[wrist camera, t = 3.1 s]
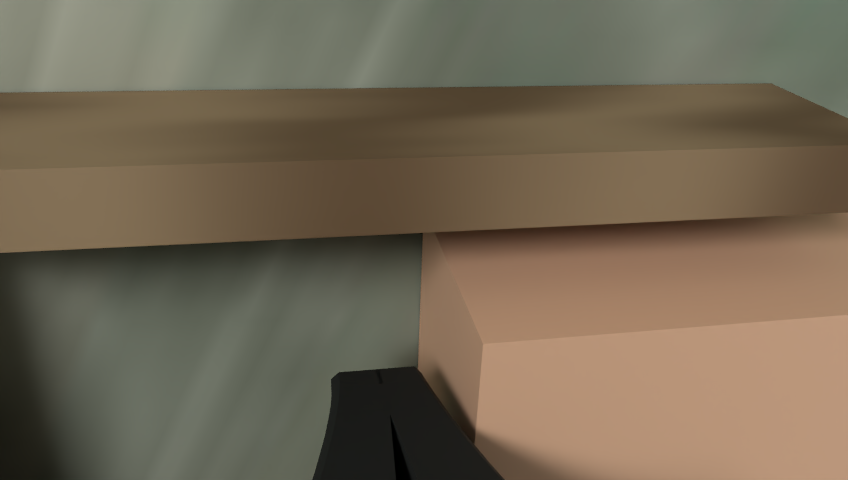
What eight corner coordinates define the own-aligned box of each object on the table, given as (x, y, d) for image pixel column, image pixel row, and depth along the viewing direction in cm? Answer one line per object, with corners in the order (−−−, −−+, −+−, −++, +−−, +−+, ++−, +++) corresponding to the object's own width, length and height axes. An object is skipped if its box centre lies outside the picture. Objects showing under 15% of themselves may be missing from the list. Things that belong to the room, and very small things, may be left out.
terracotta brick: (842, 188, 14) (1035, 299, 10) (775, 399, 16) (915, 548, 13) (423, 207, 12) (483, 344, 9) (415, 435, 15) (460, 616, 11)
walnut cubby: (771, 83, 12) (903, 143, 10) (669, 476, 17) (744, 592, 14) (-237, 95, 10) (-423, 182, 7) (-61, 559, 14) (-138, 721, 11)
